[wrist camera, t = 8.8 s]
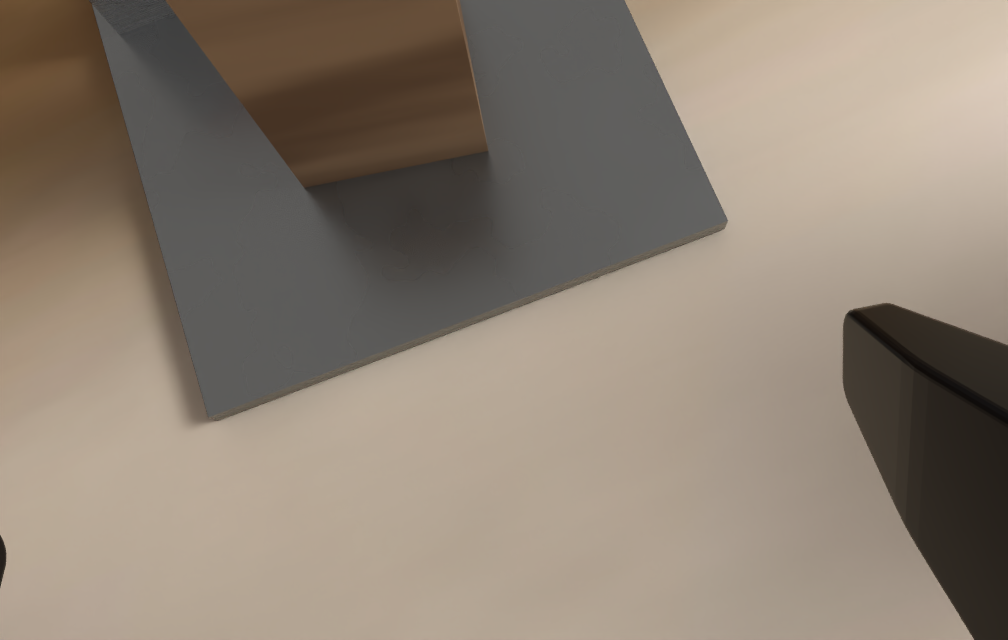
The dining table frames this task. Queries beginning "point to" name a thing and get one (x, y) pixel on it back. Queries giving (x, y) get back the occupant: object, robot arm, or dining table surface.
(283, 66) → the link block
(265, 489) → the dining table surface
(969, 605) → the robot arm
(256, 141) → the keeper
